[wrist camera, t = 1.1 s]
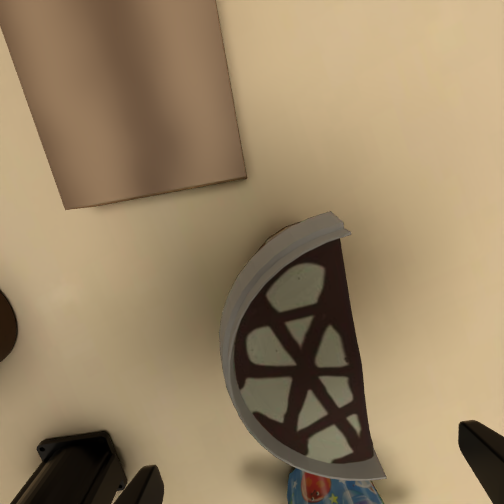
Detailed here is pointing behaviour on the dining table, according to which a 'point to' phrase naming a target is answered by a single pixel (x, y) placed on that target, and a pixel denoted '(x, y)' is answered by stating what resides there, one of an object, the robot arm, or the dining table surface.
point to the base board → (126, 95)
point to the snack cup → (329, 490)
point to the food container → (299, 354)
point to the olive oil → (6, 328)
